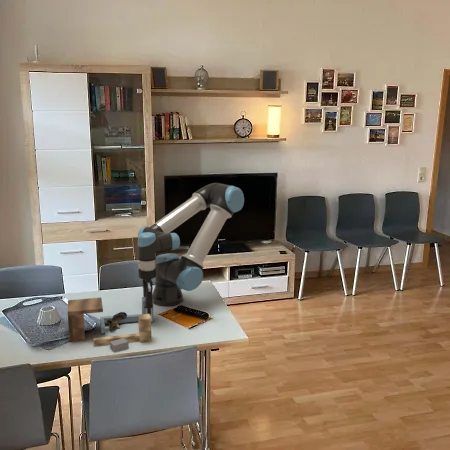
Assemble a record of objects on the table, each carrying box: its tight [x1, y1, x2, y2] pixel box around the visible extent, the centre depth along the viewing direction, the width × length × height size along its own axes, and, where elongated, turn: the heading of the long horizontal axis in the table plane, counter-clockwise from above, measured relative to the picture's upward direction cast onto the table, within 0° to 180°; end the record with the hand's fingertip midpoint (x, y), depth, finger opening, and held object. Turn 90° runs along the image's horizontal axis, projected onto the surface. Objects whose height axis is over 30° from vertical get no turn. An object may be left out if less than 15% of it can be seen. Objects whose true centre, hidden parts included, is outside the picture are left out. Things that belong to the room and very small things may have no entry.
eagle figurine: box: [104, 311, 128, 332], centre depth 211 cm, size 8×7×9 cm
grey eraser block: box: [109, 338, 130, 353], centre depth 194 cm, size 6×4×3 cm, turn 127°
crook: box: [99, 296, 154, 334], centre depth 212 cm, size 22×12×10 cm, turn 106°
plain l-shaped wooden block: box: [93, 314, 152, 347], centre depth 198 cm, size 22×4×10 cm, turn 107°
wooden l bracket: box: [67, 296, 104, 343], centre depth 204 cm, size 14×12×13 cm
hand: (148, 318), depth 219 cm, fingers closed on crook, 4 cm apart
